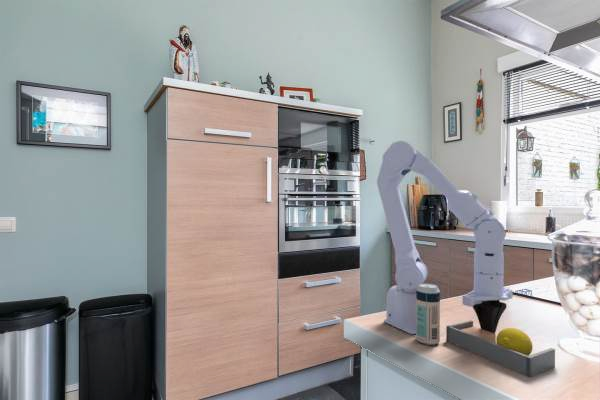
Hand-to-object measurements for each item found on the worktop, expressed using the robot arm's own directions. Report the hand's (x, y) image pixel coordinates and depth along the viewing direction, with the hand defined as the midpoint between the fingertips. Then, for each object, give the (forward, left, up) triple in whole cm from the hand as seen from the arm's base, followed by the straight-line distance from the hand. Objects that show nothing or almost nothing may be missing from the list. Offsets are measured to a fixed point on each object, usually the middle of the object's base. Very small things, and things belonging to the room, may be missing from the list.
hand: (488, 334), depth 75 cm
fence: (+5, -5, -1) cm, 7 cm away
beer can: (-5, -13, -1) cm, 14 cm away
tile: (0, -3, -1) cm, 4 cm away
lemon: (+8, -1, +1) cm, 8 cm away
